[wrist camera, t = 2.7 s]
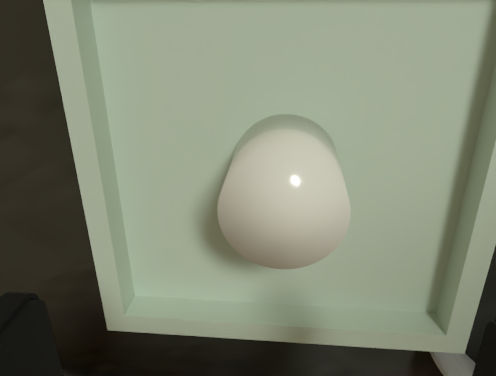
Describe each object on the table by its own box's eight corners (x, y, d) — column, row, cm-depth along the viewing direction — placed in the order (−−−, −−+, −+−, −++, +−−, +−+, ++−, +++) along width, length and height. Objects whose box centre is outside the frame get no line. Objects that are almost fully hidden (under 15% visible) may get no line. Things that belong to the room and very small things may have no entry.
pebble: (342, 115, 17) (357, 154, 13) (333, 212, 19) (344, 272, 15) (232, 113, 17) (214, 150, 13) (234, 208, 19) (219, 266, 15)
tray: (542, -70, 15) (587, -80, 12) (446, 315, 22) (464, 353, 20) (66, -61, 16) (29, -68, 14) (125, 297, 23) (107, 330, 21)
